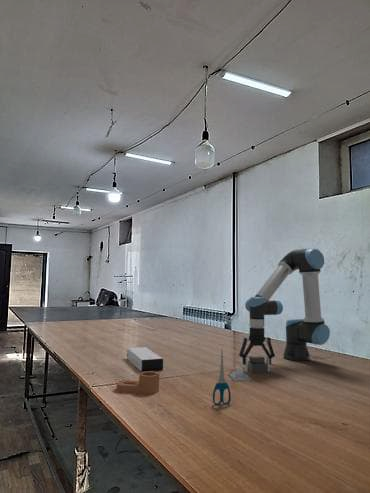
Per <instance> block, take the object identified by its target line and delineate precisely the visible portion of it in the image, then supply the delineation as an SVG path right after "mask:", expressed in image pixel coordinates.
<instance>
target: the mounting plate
mask: <svg viewBox="0 0 370 493" xmlns="http://www.w3.org/2000/svg"><path fill="white" fill-rule="evenodd" d="M243 370H244V368H243V366H241V365H236V366H235V371H228V372H227V373H228V374H227V375H228V376H229V377H230V378H231V380H232V381H233V382H249V381H250V382H251V381H252V378H251V377H250V376H249V375H248V374H247V372H246V371H243Z"/></svg>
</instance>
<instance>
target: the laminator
mask: <svg viewBox="0 0 370 493" xmlns="http://www.w3.org/2000/svg"><path fill="white" fill-rule="evenodd" d="M126 359H127V360H128V361H129V362H130V363H131V364H132V365H133V366H134V367H135V368H136V369H137V370H138V371H139V372H140V373H141V372H147V371H153V372H158V371H163V370H164V359H163V357H161V356H160V355H158V354H157V353H156V352H153V351H152V350H150V349H149V348H147V347H145V346H137V347H127V349H126Z"/></svg>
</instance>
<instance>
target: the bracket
mask: <svg viewBox="0 0 370 493" xmlns="http://www.w3.org/2000/svg"><path fill="white" fill-rule="evenodd" d="M138 376H139V378H138V380H135V379H134V380H133V379H122V380H118V381H116V386H115V387H116V391H117V392H118V393H125V394H138V395H139V394H141V395H153V394H157V393H159V392H160V373H159V372H158V371H144V372H141V371H140V372H139V374H138Z"/></svg>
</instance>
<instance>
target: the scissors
mask: <svg viewBox="0 0 370 493" xmlns="http://www.w3.org/2000/svg"><path fill="white" fill-rule="evenodd" d="M220 353H221V354H220V356H221V357H220V368H219V369H220V370H219V379H218V381H217V383H215V386H214V388H213V392H212V403H213V404H214V405H215V406H219V405H221V404H224V405H226V404H227V405H229V404H230V403H231V398H232V397H231V396H232V395H231V390H230V386H229V384H228V382H227V381H226V379H225V371H224V369H225V367H224V356H223V355H224V352H223V349H221V352H220ZM217 390H219V401H218V402H216V400H215V398H216V392H217ZM225 390H227V391H228V399H227V401H225V400H224V393H225Z"/></svg>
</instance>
